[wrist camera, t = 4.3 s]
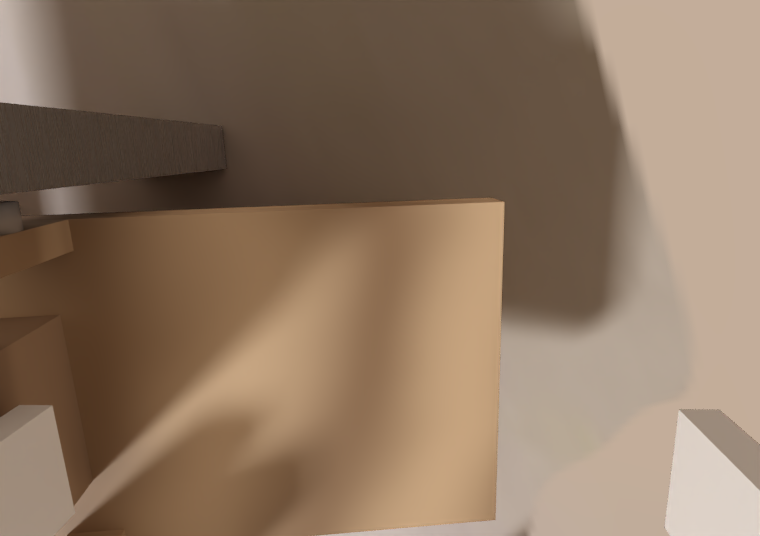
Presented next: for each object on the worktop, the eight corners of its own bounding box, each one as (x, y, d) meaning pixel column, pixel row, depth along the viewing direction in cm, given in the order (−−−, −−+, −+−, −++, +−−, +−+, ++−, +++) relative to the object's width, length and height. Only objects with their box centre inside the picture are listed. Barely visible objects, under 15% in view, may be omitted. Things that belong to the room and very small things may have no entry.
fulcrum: (181, 467, 23) (-30, 751, 12) (132, 129, 19) (-229, 107, 8) (257, 468, 22) (111, 761, 12) (222, 126, 19) (-34, 98, 8)
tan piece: (-146, 481, 19) (-544, 753, 11) (-240, 195, 17) (-871, 244, 8) (454, 436, 21) (536, 638, 12) (456, 170, 18) (561, 188, 10)
